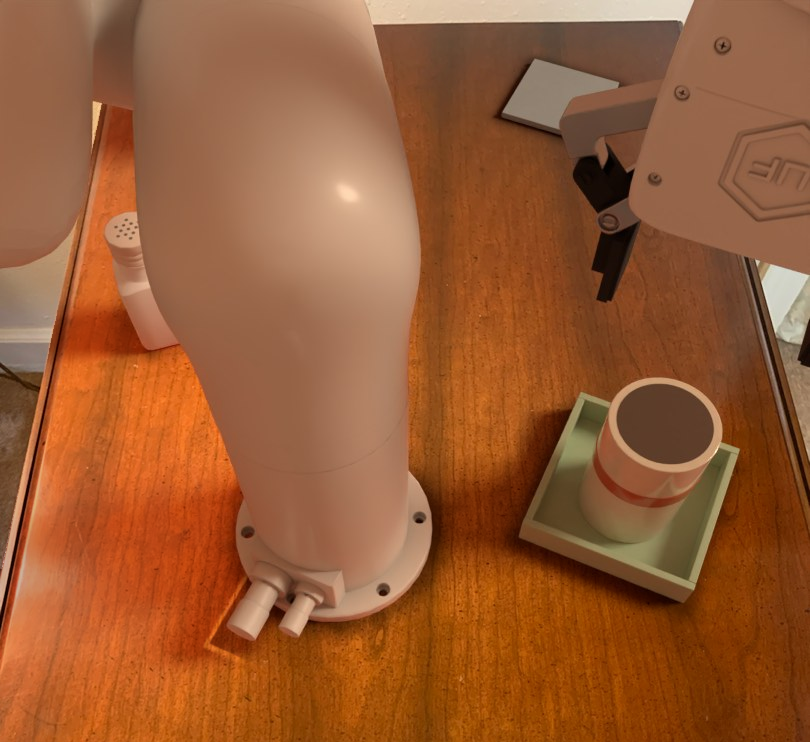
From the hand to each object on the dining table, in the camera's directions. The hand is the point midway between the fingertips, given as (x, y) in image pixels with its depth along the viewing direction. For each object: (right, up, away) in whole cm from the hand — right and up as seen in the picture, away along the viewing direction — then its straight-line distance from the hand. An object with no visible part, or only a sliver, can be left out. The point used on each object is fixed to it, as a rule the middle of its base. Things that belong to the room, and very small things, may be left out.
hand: (708, 312), depth 39 cm
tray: (0, -8, +15) cm, 17 cm away
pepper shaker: (-32, +5, +22) cm, 39 cm away
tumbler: (0, -8, +15) cm, 17 cm away
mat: (-1, +28, +33) cm, 43 cm away
